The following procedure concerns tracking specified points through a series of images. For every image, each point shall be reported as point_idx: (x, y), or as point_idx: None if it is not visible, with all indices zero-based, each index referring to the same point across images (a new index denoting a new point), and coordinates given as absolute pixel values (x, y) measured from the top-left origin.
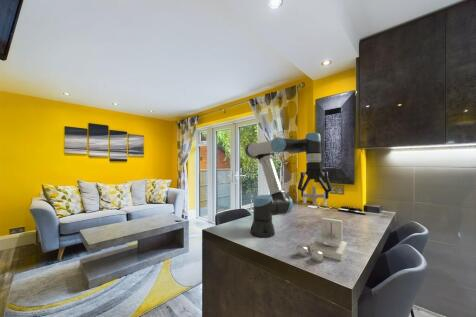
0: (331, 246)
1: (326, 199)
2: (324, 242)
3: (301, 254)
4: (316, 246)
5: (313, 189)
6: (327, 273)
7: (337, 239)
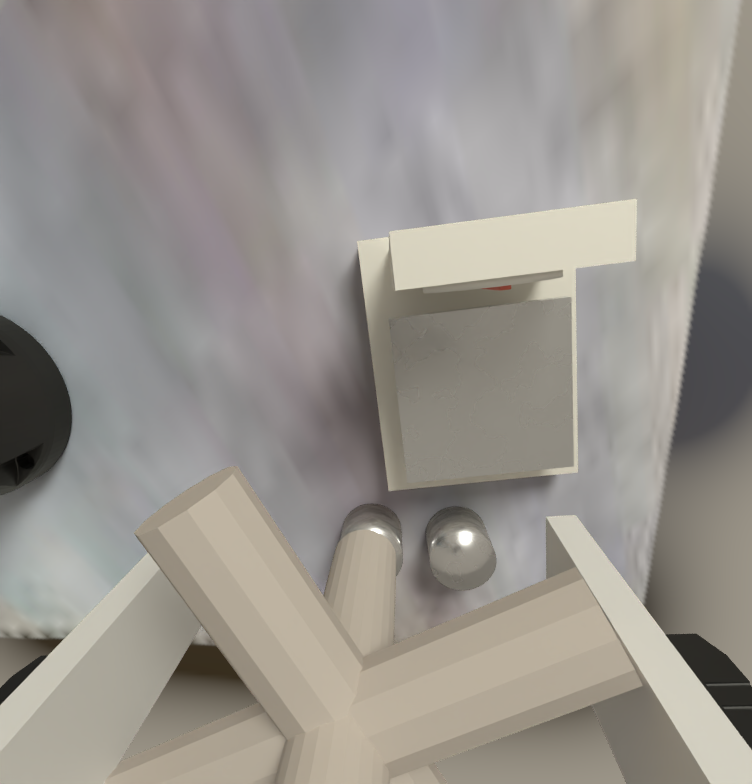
0: None
1: (628, 592)
2: (478, 473)
3: None
4: None
5: None
6: None
7: (544, 356)
